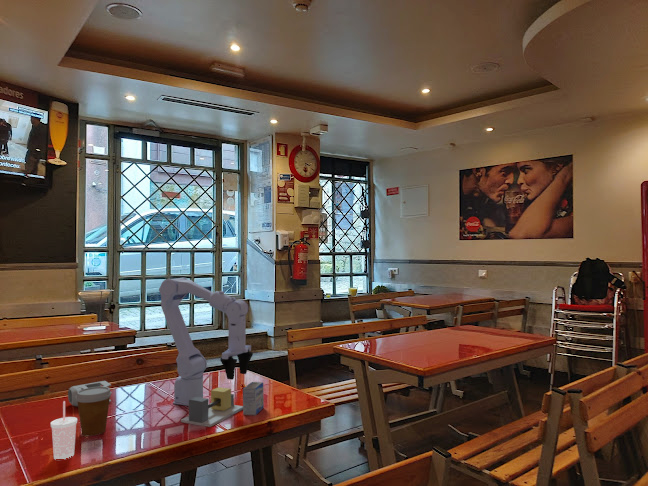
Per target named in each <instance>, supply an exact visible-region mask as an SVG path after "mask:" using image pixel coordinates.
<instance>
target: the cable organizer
mask: <svg viewBox="0 0 648 486" xmlns="http://www.w3.org/2000/svg"><path fill="white" fill-rule="evenodd" d="M111 386H112V384H111V383H110V382H108V381H106V380H102V381H100V380H99V381H96V382H95V381H94V382H90V383H85V384H78V385H73V386H71V387H69V388H68V392H67V398H68V399H67V401H68V402H69V404H71V406H73V407H76V408H78V402H77V400H76V396H77V393H78V391H80V390H83V389H86V388H91V387H108V388H109V387H111ZM111 401H112V400H111V399H110V400H109V403H111Z"/></svg>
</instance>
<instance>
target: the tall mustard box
mask: <svg viewBox="0 0 648 486" xmlns="http://www.w3.org/2000/svg"><path fill="white" fill-rule="evenodd" d="M231 394H232V388H227V387H219V386H218V387H216V388H213V389H212V390H210V403H212V402H214V401H216V400H219V399H221V403H219V404H217V405H215V406H213V407H211V409H215V410H222V411H224V410H226V409H228V408H230V407H231Z"/></svg>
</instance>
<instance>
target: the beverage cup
mask: <svg viewBox="0 0 648 486" xmlns="http://www.w3.org/2000/svg"><path fill="white" fill-rule="evenodd" d="M77 423H78V417H75V416H66V401H65V400H63V402H62V417H60V418H57V419H54V420H52V421H51V422H50V428H51V433H52V434H51V436H52V451H53V459H54V460H56V459H64V460H67V459H66V458H68V459H70V458H72V457H74V455H75V446H76V434H77V433H76V431H77ZM71 456H72V457H71ZM69 457H70V458H69Z"/></svg>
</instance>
